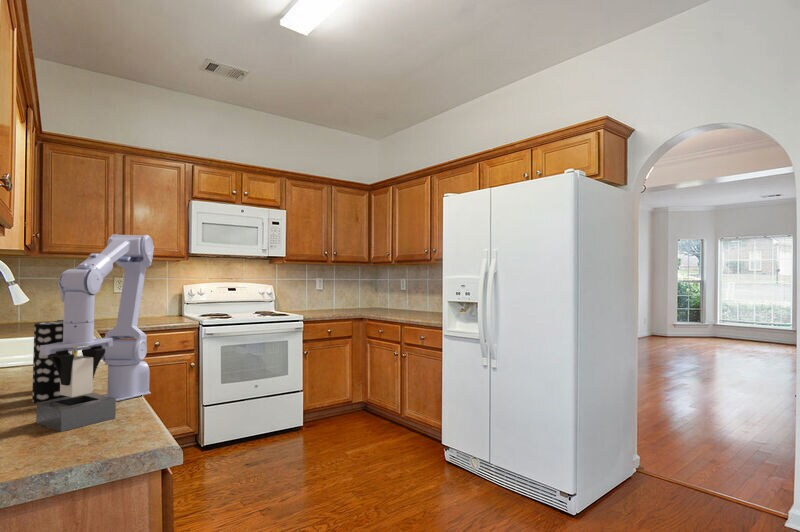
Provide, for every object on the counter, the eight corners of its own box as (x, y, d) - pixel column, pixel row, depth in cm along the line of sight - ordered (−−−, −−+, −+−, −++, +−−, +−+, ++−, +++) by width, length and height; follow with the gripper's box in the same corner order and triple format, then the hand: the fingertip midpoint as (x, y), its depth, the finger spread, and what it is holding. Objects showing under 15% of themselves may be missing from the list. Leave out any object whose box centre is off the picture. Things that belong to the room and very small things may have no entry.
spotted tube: (66, 393, 127) (68, 320, 128) (76, 398, 122) (78, 322, 123) (28, 399, 121) (30, 322, 122) (37, 405, 116) (39, 325, 116)
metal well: (89, 410, 112) (90, 392, 112) (115, 418, 106) (115, 398, 106) (36, 423, 102) (36, 402, 102) (61, 431, 97) (61, 410, 97)
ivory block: (80, 390, 107) (81, 355, 107) (92, 392, 105) (93, 357, 106) (59, 394, 103) (60, 358, 103) (72, 397, 101) (72, 360, 102)
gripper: (100, 318, 113) (98, 374, 112) (32, 324, 100) (30, 387, 99) (119, 320, 110) (117, 377, 110) (51, 325, 97) (49, 391, 96)
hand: (77, 382), depth 104 cm, fingers closed on ivory block, 4 cm apart
